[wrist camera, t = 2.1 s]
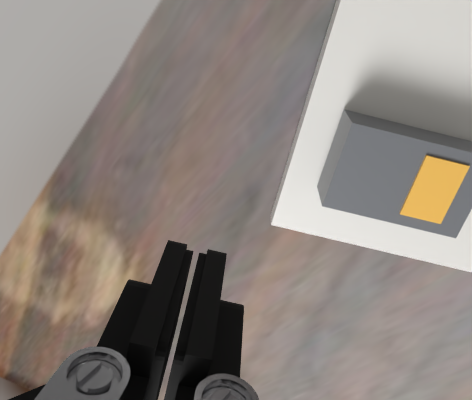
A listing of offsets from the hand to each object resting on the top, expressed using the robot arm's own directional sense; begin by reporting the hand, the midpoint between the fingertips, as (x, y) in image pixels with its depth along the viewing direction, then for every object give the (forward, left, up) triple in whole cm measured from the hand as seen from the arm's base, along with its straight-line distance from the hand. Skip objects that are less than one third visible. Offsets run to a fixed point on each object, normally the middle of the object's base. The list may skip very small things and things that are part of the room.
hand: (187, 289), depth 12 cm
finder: (0, +10, -16) cm, 18 cm away
